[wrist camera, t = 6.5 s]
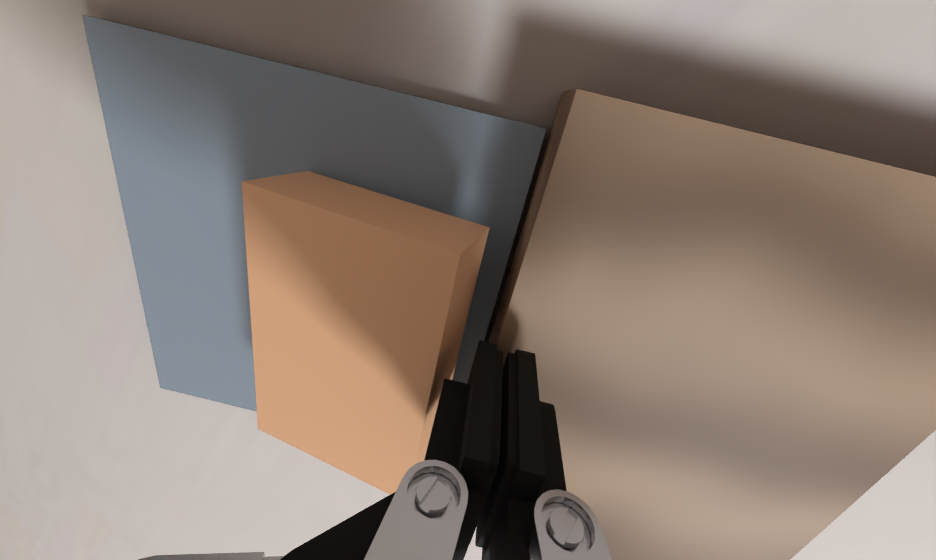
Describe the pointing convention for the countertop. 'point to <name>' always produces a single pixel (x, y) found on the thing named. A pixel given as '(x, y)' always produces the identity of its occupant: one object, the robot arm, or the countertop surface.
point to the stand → (721, 327)
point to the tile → (354, 318)
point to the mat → (272, 154)
